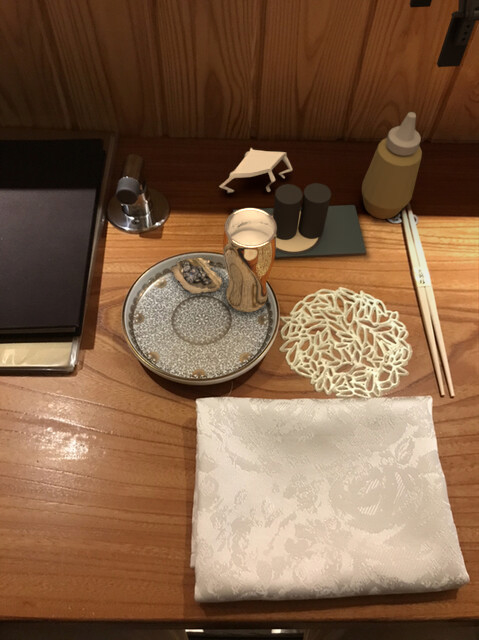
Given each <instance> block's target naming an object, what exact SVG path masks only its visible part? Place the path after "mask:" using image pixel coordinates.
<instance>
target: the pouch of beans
mask: <svg viewBox="0 0 479 640" xmlns="http://www.w3.org/2000/svg"><path fill="white" fill-rule="evenodd" d="M183 262H184V263H183ZM210 262H211V261H210V259H208V260H207V258H206V257H205V258H194V259H185V260H183V261H180V262H177V261H176V265H173V266H172V267H170V272H171V273H173V276H174V278H175V279H176V281H179V285H182V288H183V289H184V290H186V291H188V292H190V294H191V295H192V294H199V295H200V294H202V293H205V294H206V293H210V292H212V293H213V292H216V291H219V289H220V288H221V285H222V281H223V280H222V277H221V276H219V274H218V273H217V271H213V270H212V268H213V266H212V265H211V264H210ZM182 263H183V265H182Z"/></svg>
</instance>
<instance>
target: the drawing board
mask: <svg viewBox="0 0 479 640" xmlns="http://www.w3.org/2000/svg"><path fill="white" fill-rule="evenodd" d="M260 209H261V210H263V211H265V212H267V213H269V214H270V215H271V216H272V217H273V211H274V207H268V208H267V207H266V208H265V207H264V208H260ZM237 210H239V208H237V209H232V213H233V212H235V211H237ZM357 211H358V210H357V208H356V205H355V204H345V205H329V208H328V212H327V217H326V221H325V226H324V230H323V234H322V235H321V236H320V237H318V238H315V239H308V238H305V237H303V236H302V235H301V234H300V233H299V231H298V228H297V233H296V235H295V236H294V237H293V238H292V239H289V240H281V239H278V238H277V245H276V254H275V260H278V259H302V258H305V259H306V258H323V257H324V258H326V257H345V256H346V257H348V256H351V257H352V256H366V255H367V250H366V246H365V240H364V237H363V232H362V229H361V224H360V221H359V216H358V212H357ZM300 213H301V209H300ZM299 219H300V215H299ZM298 225H299V222H298Z"/></svg>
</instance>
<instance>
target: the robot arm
mask: <svg viewBox="0 0 479 640" xmlns="http://www.w3.org/2000/svg"><path fill="white" fill-rule="evenodd" d="M432 2H433V0H410V2H409V7H410V8H425V7H426V8H429V7H431V5H432ZM457 3H458V5H457V7H458V8H457V9H458V10H455V11H453V12H452V13H451V19H450V22H449V25H448V27H447V31H446V33H445V37H444V40H443V43H442V46H441V49H440V52H439V56H438V58H437V61H436V65H437V68H448V67H449V68H450V67H460V66H461V64H462V60H463V58H464V55H465V52H466V50H467V47H468V44H469V41H470V38H471V36H472V32H473V31H474V28H475V25H476V22H478V21H479V0H458V2H457Z"/></svg>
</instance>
